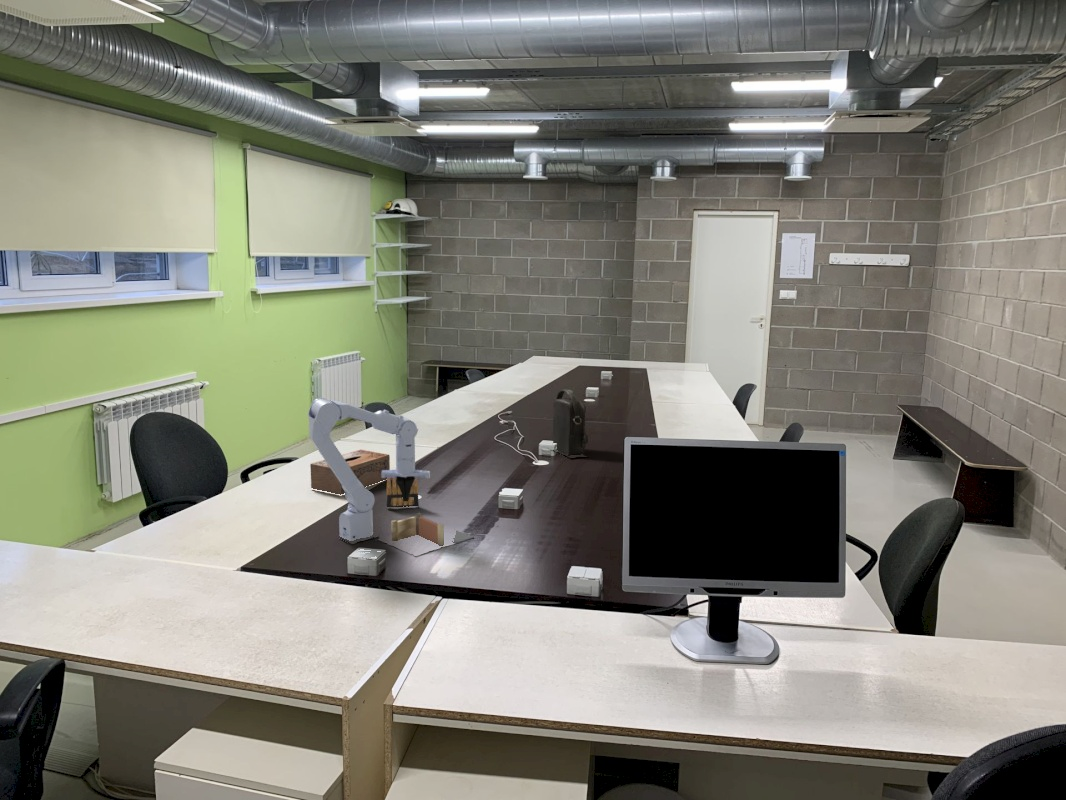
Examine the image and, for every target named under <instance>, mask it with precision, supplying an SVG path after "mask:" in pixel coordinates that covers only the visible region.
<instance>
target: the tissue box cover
mask: <svg viewBox="0 0 1066 800" xmlns="http://www.w3.org/2000/svg"><path fill="white" fill-rule="evenodd" d="M341 455H342V456H343V458H344V459H345V461H346V462H347V464H348V465H349V467H350V468H351V470H352V471H353V473H354V474H355V476H356V477H357V479H358V480H359V481H360V482H361V484H362V485H363V486H364V487H366V486H369V485H372V484H375V483H378V482H380V481H383V480H386V479H387V477H385V478H382V476H381V472H382V470H391V468H390V466H391V465H390V463H391V462H390V454H389V453H381V452H376V451H370V450H366V449H357V450H354V451H350V452H347V453H344V454H341ZM309 467H310V486H311V487H310V489H311V488H313V489H317V490H322V491H327V492H331V493H335V494H340V495H341V494H344V493H345V491H344V489H343V488H342V484H341V483H340V481H339V480H338V479H337V477H336V476H335V474H334V473H333V471H332V470H331V468H330V467H329V465H328V464H327V462H326V461H325V459H323V460H319V461H316V462H312V463H310V466H309Z"/></svg>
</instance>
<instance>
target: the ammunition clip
mask: <svg viewBox="0 0 1066 800" xmlns="http://www.w3.org/2000/svg"><path fill="white" fill-rule="evenodd" d="M396 480H397V478H396V477H392V481H391V477H387V481H386V506H387V507H403V506H404V507H406V506H408V507H409V506H420V504H419V484H418V478H415V480H414V482H413V484H412V487H411V490H410V494H409V500H408V501H403V496H402V493H401V490H400V488H399V486H398V484H397V482H396ZM397 505H398V506H397Z"/></svg>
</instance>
